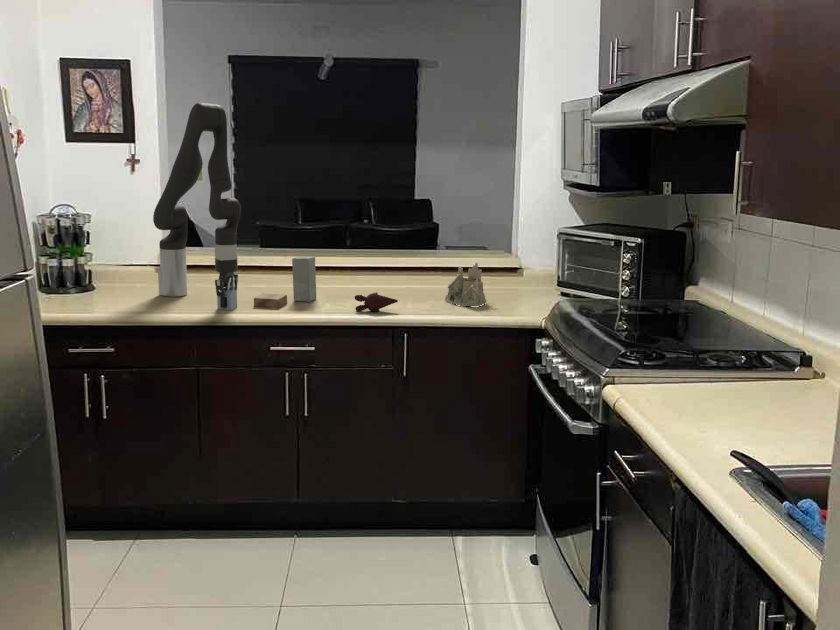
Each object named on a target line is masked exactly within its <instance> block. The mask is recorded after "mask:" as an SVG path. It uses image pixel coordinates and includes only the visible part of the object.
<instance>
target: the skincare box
mask: <svg viewBox="0 0 840 630" xmlns="http://www.w3.org/2000/svg"><path fill="white" fill-rule="evenodd" d="M291 262H292V263H291V264H292V266H291V267H292V287H293V288H292V289H293V301H294V302H306V303H307V302H309V303H311V302H312V301H314V300H315V299H317V273H316V272H317V271H316V256H304V255H303V256H301V255H300V256H295V257H293V258H292V259H291Z"/></svg>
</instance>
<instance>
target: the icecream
mask: <svg viewBox="0 0 840 630" xmlns="http://www.w3.org/2000/svg"><path fill="white" fill-rule="evenodd" d="M378 293H379V292H377V291H376V292H373V293H370V294H368V295H366V296H365V295H362V294H356V295H354V300H355V301H357V302H361V303H362V302H363V304H359V305H357V306H356V307H355V308H354V309H355V311H356V312H361V311H366V310H369V311H371V312H375V311H376V312H378V313H379V312H380V310H381V309H383V308H385V307H388V306H390V305H393V304H395V303H398V302H399V300H398V299H397V298H396V299H395V298H391V297H389V296H384V295H380V294H378Z"/></svg>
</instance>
